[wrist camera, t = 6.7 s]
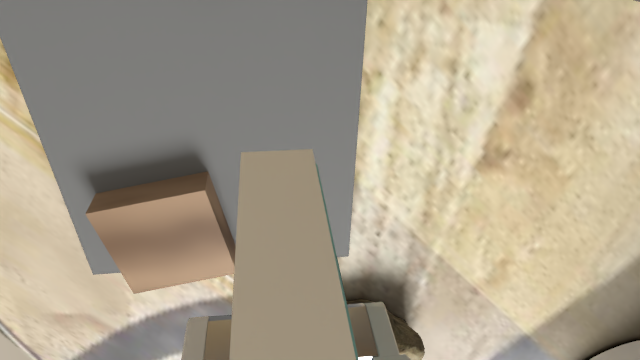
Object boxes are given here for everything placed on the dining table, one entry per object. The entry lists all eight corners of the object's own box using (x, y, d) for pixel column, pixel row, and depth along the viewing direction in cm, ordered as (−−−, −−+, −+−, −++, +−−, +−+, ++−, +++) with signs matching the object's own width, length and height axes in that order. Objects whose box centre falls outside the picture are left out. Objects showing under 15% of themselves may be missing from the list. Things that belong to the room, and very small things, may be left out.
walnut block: (238, 252, 31) (236, 273, 29) (140, 271, 31) (133, 293, 29) (208, 171, 27) (204, 190, 25) (95, 193, 27) (85, 213, 25)
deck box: (313, 310, 16) (344, 543, 11) (257, 315, 16) (257, 555, 10) (316, 148, 12) (366, 381, 7) (240, 152, 12) (227, 395, 6)
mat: (347, 250, 33) (348, 256, 32) (95, 268, 31) (93, 274, 30) (371, -96, 20) (374, -95, 20) (-46, -103, 18) (-55, -102, 18)
